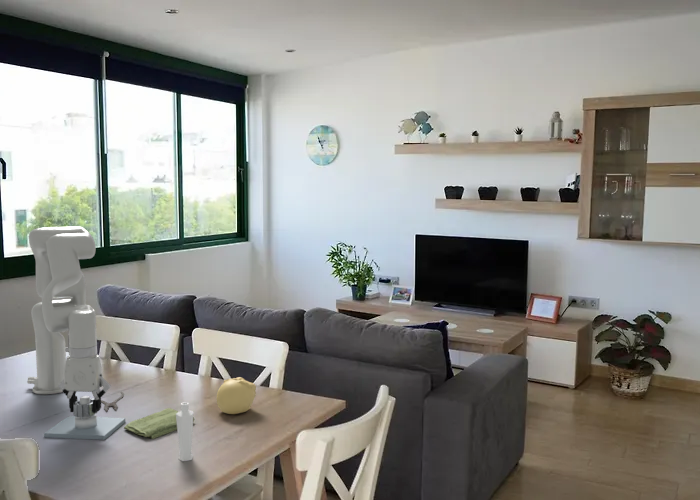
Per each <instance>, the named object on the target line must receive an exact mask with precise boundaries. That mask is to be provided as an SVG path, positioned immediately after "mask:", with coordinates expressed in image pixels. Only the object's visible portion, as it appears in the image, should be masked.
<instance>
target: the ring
mask: <svg viewBox="0 0 700 500" xmlns="http://www.w3.org/2000/svg"><path fill="white" fill-rule="evenodd" d="M93 400H94V397H92V398H91V397H90V403H89V404H80V399H77V400H76V401H75V402H74V403H73V411H74V412H73V416H76V417H89V416H92V415H97V413H93Z"/></svg>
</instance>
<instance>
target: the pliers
mask: <svg viewBox="0 0 700 500" xmlns="http://www.w3.org/2000/svg"><path fill="white" fill-rule="evenodd" d="M120 394H121V396H120V397H118V398H116V399H115V400H113V401H112V402H107V401H105V400H102V399H101V404H103V405H104V406H103V410H104V411H105V412H106V413H108V410H109V409H110V408H112V409H113V410H114V412H117V411H118V408H119V406H118V405H117V403H118V402H119V401H120V400H121V399H123V398H124V395H125V393H124V392H123V391H120Z"/></svg>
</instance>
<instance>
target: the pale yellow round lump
mask: <svg viewBox="0 0 700 500" xmlns="http://www.w3.org/2000/svg"><path fill="white" fill-rule="evenodd" d="M256 390H257V385H256V384H255V383H254V382H250V381H248V380H246V379H245V378H243V377H241V376H238V377H236V378H235V377H233V378H227V379H224V380H223V383H222V384H221V385H220V386H219V388H218V390H217V393H216V397H215V398H216V404H217V407H218V408H219V410H220V411H221V412H222V413H224V414H227V415H236V414H242V413H245V412H247V411H249V410H250V408H251V407H252V406H253V403H254V399H255V398H256V395H257V392H256Z"/></svg>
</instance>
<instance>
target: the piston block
mask: <svg viewBox="0 0 700 500" xmlns="http://www.w3.org/2000/svg"><path fill="white" fill-rule="evenodd" d="M90 398H91V396H89V395H84V396H80V397H79V400H80V404H89V403H90ZM125 423H126V417H103V416H97V414H95V415H92V416H89V417H76V416H74V415H69V416H67V417H65V418H64V419H62V420H61V421H59V422H58V423H57V424H55V425H54V426H53V427H51V428H50V429H47V430H46V431H45V432H44V433H43V438H51V439H52V438H53V439H54V438H55V439H56V438H58V439H78V440H79V439H80V440H82V439H83V440H99V441H100V440H103V441H105V440H106V439H107V438H108V437H110V436H111V435H112V434H114V432H116V430H118V429H119V428H120V427H121V426H123V425H124V424H125Z"/></svg>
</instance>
